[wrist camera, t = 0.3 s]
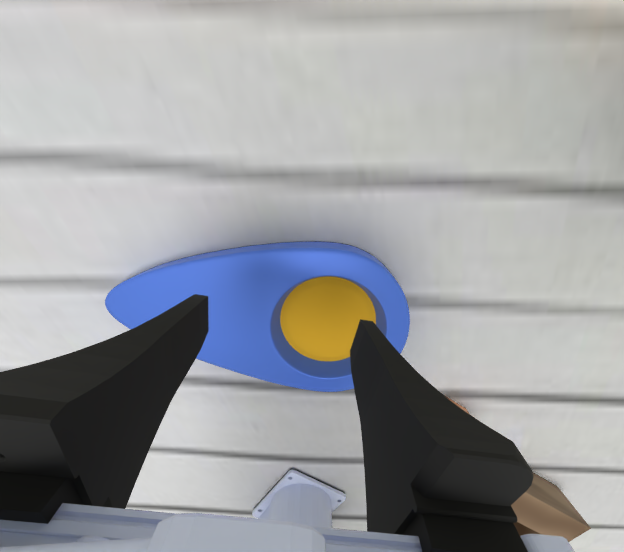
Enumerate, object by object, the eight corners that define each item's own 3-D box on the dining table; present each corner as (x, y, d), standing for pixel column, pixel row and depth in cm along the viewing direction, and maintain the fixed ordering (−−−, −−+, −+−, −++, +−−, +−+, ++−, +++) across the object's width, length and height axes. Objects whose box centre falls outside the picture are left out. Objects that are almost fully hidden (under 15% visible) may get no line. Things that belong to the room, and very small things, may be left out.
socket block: (483, 537, 34) (504, 581, 31) (413, 503, 32) (426, 545, 29) (557, 486, 31) (590, 528, 27) (484, 445, 29) (510, 483, 25)
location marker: (138, 351, 26) (384, 377, 26) (112, 374, 23) (393, 403, 23) (119, 218, 22) (414, 249, 22) (85, 224, 19) (430, 260, 19)
